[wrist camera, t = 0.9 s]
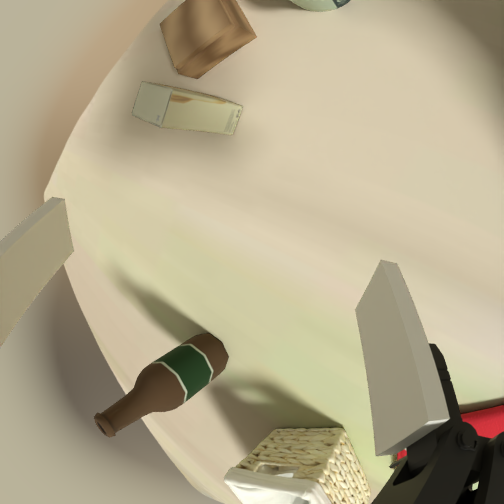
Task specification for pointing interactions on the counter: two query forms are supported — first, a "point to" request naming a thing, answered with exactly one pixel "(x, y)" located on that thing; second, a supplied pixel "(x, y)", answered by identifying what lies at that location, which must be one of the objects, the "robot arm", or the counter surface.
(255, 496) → the storage basket
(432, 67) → the counter surface
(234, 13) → the walnut base
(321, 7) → the food container
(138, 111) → the skincare box
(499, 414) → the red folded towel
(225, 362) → the beer bottle
